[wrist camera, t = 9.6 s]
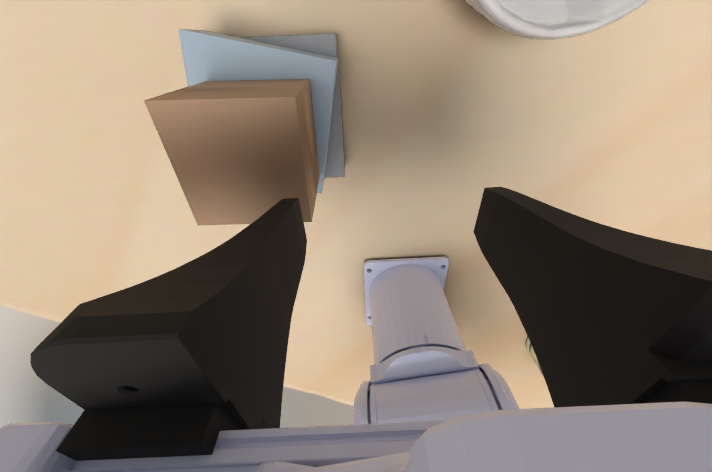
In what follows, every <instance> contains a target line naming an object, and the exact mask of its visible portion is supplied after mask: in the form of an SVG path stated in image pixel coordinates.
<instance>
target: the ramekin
mask: <svg viewBox="0 0 712 472" xmlns="http://www.w3.org/2000/svg"><path fill="white" fill-rule="evenodd" d="M465 1H466V2H467V3H468V4H469V5H471V6H472V7H473V8H474V9H475V11H477V12H478V13H481V14H482V15H484V16H485V17H486V18H487V19H488V20H489V21H490V22H492V23H493V24H495V25H496V26H498V27H499V28H501V29H503V30H505V31H507V32H510V33H512V34H514V35H518V36H521V37H526V38H531V39H561V38H568V37H574V36H578V35H582V34H586V33H589V32H592V31H595V30H597V29H600V28H602V27H604V26H607V25H609V24H611V23H613V22H615V21H617V20H619V19H621V18H623V17H625V16H626V15H628V14H629V13H631V12H633V11H634V10H636V9H638V8H639V7H641V6H642V5H644V4H645V3H647V2H648V1H649V0H465Z"/></svg>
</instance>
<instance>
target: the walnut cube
mask: <svg viewBox="0 0 712 472" xmlns="http://www.w3.org/2000/svg"><path fill="white" fill-rule="evenodd" d="M145 104H146V106H147V108H148V110H149V113H150V115H151V117H152V120H153V122H154V124H155V127H156V129H157V131H158V134H159V136H160V138H161V141H162V143H163V145H164V148H165V150H166V152H167V155H168V157H169V159H170V162H171V164H172V166H173V168H174V171H175V173H176V175H177V178H178V180H179V182H180V185H181V187H182V189H183V192H184V194H185V196H186V199H187V201H188V203H189V206H190V208H191V210H192V213H193V215H194V217H195V220H196V222H197V224H198V225H225V224H252V223H253V222H254V221H256V220H257V219H258V218H259V217H261V216H262V215H263V214H264V213H265V212H267V211H268V210H269V209H270V208H271V207H273V206H274V205H275V204H276V203H278V202H279V201H280V200H282V199H287V198H299V202H300V208H301V213H302V218H303V222H312V217H313V211H314V206H315V200H316V194H317V188H318V183H319V177H320V173H319V163H318V153H317V143H316V133H315V123H314V114H313V104H312V94H311V84H310V79H279V80H236V81H205V82H202V83H198V84H195V85H192V86H189V87H186V88H183V89H179V90H176V91H173V92H170V93H167V94H164V95H160V96H157V97H154V98H151V99H148V100H145Z"/></svg>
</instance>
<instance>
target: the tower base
mask: <svg viewBox="0 0 712 472" xmlns="http://www.w3.org/2000/svg"><path fill="white" fill-rule="evenodd" d="M243 39H248V40H253V41H258V42H263V43H267V44H272V45H277V46H282V47H287V48H292V49H297V50H301V51H306V52H311V53H316V54H321V55H326V56H331V57H335V58H338V51H337V35H336V34H335V33H333V34H311V35H289V36H267V37H244V38H243ZM344 176H345V162H344V146H343V130H342V115H341V99H340V83H339V67H338V63H337V72H336V81H335V89H334V98H333V107H332V116H331V124H330V133H329V142H328V151H327V159H326V168H325V177H324V178H327V177H344Z"/></svg>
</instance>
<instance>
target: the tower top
mask: <svg viewBox="0 0 712 472" xmlns="http://www.w3.org/2000/svg"><path fill="white" fill-rule="evenodd" d="M179 35H180V41H181V47H182V53H183V59H184V65H185V71H186V77H187V83H188V87H189V86H192V85H195V84H198V83H202V82H205V81H236V80H279V79H310V84H311V94H312V104H313V114H314V123H315V133H316V143H317V153H318V163H319V173H320V177H319V183H318V188H317V193H322V188H323V182H324V177H325V168H326V159H327V151H328V142H329V133H330V124H331V116H332V107H333V98H334V89H335V81H336V72H337V63H338V58H335V57H331V56H326V55H321V54H316V53H311V52H306V51H301V50H297V49H292V48H287V47H282V46H277V45H272V44H267V43H263V42H258V41H253V40H248V39H243V38H238V37H233V36H229V35H224V34H219V33H214V32H209V31H204V30H189V29H179Z"/></svg>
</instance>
